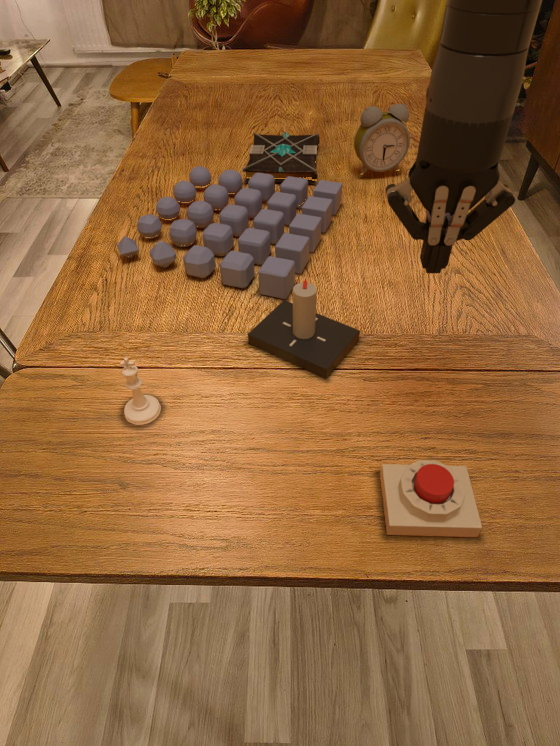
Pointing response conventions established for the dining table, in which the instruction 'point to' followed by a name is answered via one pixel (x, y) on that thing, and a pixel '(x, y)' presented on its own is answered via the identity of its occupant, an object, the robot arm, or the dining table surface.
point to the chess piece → (138, 398)
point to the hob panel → (304, 340)
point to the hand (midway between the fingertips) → (432, 269)
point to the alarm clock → (382, 138)
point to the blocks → (243, 228)
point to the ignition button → (433, 483)
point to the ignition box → (428, 504)
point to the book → (283, 156)
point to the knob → (304, 310)
